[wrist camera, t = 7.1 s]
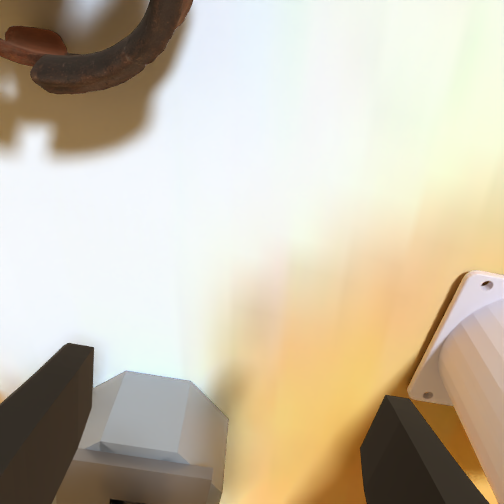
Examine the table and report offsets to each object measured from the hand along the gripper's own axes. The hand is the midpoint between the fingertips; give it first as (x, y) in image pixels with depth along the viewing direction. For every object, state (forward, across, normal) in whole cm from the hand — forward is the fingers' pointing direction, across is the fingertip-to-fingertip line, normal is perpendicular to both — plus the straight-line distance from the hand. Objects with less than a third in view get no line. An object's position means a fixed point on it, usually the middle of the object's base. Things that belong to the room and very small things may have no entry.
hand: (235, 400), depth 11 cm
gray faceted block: (+10, +3, +14) cm, 17 cm away
